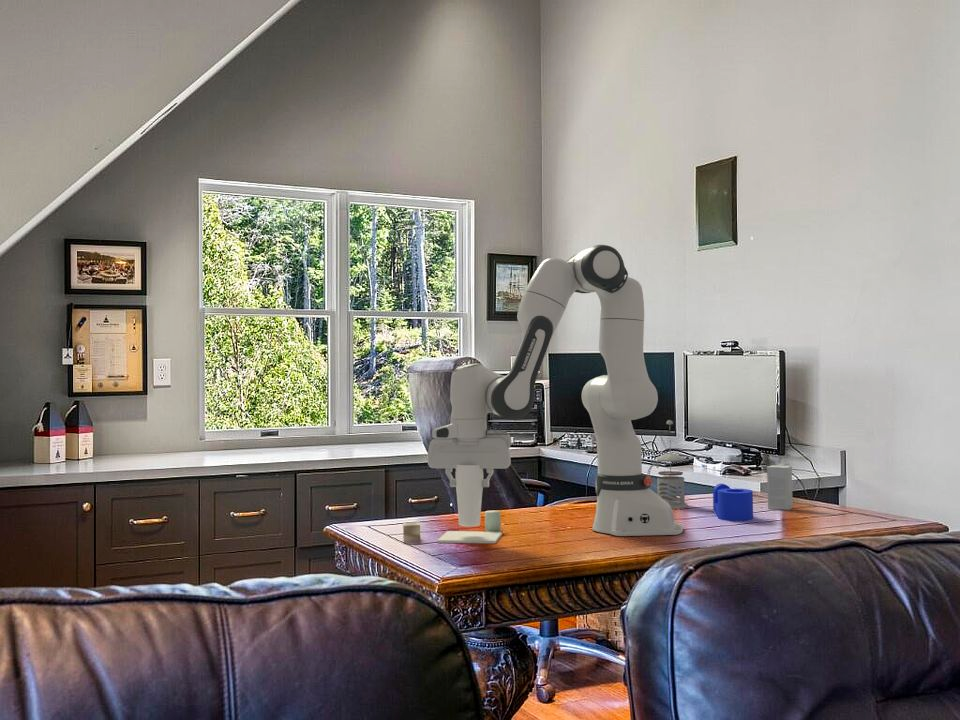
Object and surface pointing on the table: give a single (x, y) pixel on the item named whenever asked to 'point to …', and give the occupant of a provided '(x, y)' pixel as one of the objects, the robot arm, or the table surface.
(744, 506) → the bracket
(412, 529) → the ash block
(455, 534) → the cream mat
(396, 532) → the table surface
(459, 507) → the drinking glass
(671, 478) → the french press
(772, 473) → the skincare box
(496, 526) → the sage cylinder
